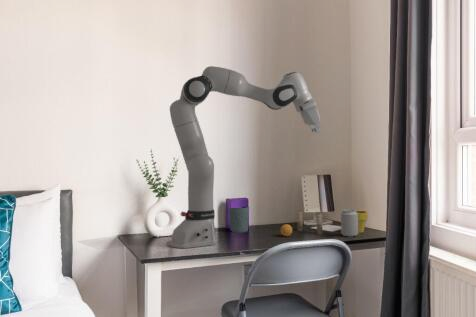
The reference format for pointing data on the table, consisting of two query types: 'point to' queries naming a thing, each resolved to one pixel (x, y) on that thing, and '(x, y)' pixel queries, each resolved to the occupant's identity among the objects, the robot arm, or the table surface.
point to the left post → (299, 221)
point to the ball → (286, 230)
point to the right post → (319, 223)
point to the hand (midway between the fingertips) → (317, 132)
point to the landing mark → (329, 228)
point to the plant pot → (361, 220)
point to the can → (349, 223)
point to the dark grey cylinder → (239, 219)
